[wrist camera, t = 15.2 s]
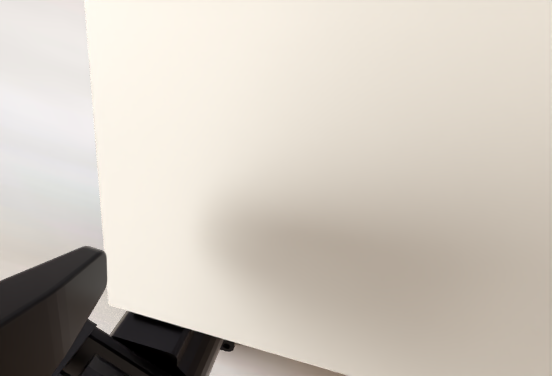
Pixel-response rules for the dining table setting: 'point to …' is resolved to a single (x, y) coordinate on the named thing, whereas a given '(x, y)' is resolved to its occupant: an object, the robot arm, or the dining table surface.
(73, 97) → the dining table surface
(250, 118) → the cubby
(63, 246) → the dining table surface
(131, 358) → the robot arm
